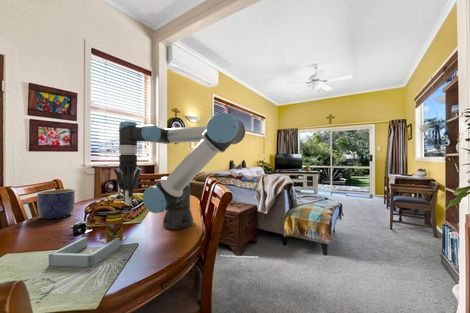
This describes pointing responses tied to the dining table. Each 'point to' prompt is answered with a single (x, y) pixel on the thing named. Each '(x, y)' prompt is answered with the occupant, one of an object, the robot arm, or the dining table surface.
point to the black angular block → (79, 232)
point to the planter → (56, 203)
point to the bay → (68, 257)
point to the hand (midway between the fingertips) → (128, 203)
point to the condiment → (114, 226)
